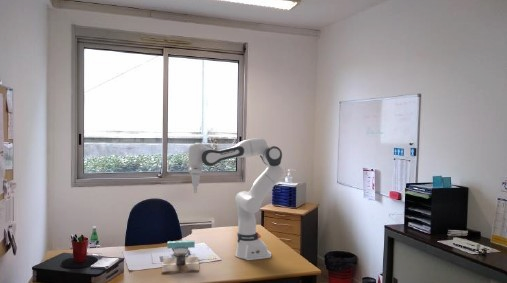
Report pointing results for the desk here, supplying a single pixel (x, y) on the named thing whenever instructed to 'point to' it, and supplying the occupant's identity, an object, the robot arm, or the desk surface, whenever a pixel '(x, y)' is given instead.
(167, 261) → the beige square tray
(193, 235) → the desk surface
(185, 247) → the coupling
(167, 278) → the desk surface
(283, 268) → the desk surface
